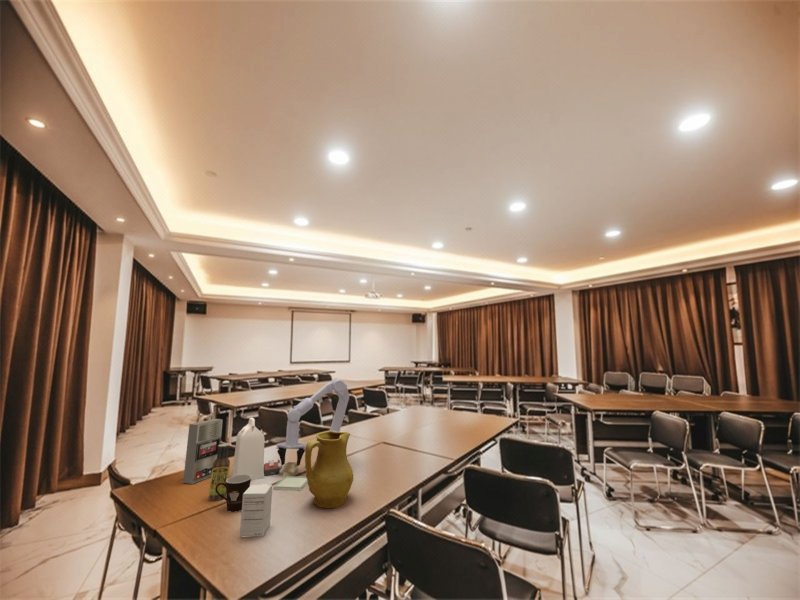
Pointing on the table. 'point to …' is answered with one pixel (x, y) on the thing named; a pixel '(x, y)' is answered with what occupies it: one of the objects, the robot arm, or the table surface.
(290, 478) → the sage tile
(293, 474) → the beech cube
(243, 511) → the supplement box
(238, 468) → the milk
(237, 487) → the coffee mug
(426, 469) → the table surface
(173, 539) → the table surface
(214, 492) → the sauce bottle
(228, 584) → the table surface
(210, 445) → the cassette tape recorder
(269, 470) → the walkie-talkie
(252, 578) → the table surface
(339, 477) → the pitcher
